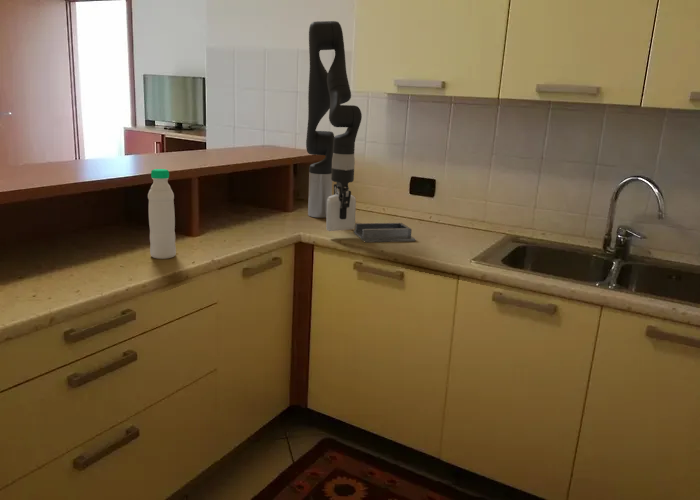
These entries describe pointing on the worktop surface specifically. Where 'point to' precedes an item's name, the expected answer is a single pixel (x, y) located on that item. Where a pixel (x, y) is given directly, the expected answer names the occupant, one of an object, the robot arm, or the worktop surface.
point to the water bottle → (161, 216)
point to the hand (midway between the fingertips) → (340, 216)
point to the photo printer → (334, 214)
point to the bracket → (383, 232)
